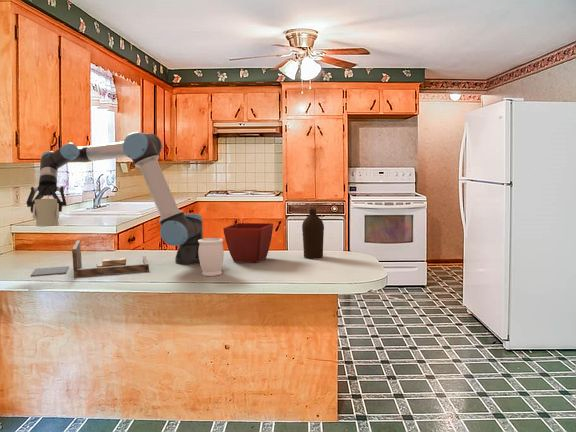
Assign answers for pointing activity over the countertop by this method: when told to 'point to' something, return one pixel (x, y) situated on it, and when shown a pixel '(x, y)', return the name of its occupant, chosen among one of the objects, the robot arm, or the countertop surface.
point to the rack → (102, 270)
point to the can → (46, 212)
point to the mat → (50, 271)
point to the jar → (211, 256)
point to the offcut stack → (112, 262)
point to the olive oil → (313, 235)
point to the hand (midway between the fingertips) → (45, 217)
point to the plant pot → (248, 241)
